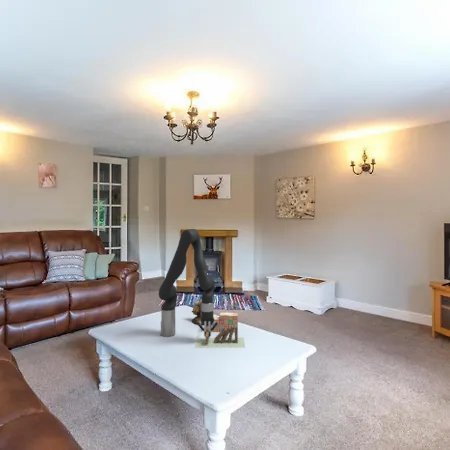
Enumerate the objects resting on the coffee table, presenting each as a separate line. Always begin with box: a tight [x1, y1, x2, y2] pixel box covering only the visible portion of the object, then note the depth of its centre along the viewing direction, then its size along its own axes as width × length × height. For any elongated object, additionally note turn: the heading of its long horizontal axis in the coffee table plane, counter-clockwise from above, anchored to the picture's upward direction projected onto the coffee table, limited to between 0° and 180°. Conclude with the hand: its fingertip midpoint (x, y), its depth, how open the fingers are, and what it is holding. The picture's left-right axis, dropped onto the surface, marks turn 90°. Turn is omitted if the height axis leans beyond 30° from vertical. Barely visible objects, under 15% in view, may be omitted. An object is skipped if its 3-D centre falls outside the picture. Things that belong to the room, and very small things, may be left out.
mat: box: [194, 337, 246, 349], centre depth 203 cm, size 30×16×1 cm, turn 90°
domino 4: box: [227, 325, 234, 343], centre depth 203 cm, size 2×5×10 cm, turn 0°
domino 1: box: [205, 328, 209, 344], centre depth 202 cm, size 2×5×10 cm
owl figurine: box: [191, 299, 204, 327], centre depth 243 cm, size 18×12×17 cm, turn 51°
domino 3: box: [221, 326, 231, 343], centre depth 203 cm, size 2×5×10 cm, turn 0°
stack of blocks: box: [207, 312, 239, 334], centre depth 223 cm, size 21×6×12 cm, turn 84°
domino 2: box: [214, 328, 227, 343], centre depth 204 cm, size 2×5×10 cm
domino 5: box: [234, 325, 239, 343], centre depth 203 cm, size 2×5×10 cm, turn 0°
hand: (207, 337), depth 204 cm, fingers closed on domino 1, 1 cm apart
